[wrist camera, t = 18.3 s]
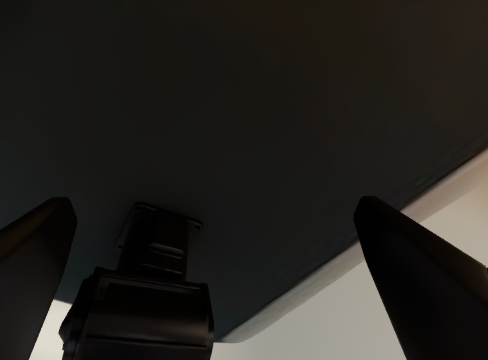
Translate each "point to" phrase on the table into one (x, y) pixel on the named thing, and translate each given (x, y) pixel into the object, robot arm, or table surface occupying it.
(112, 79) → the table surface
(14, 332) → the robot arm
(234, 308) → the table surface
